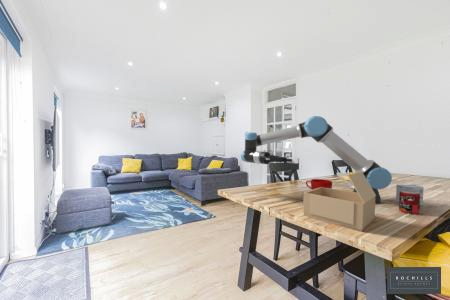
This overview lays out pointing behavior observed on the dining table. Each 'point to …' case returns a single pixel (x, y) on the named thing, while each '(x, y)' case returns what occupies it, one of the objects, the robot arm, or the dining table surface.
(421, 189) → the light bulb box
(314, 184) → the ceramic cup
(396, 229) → the dining table surface
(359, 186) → the carton flap
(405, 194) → the canned food
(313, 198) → the carton
